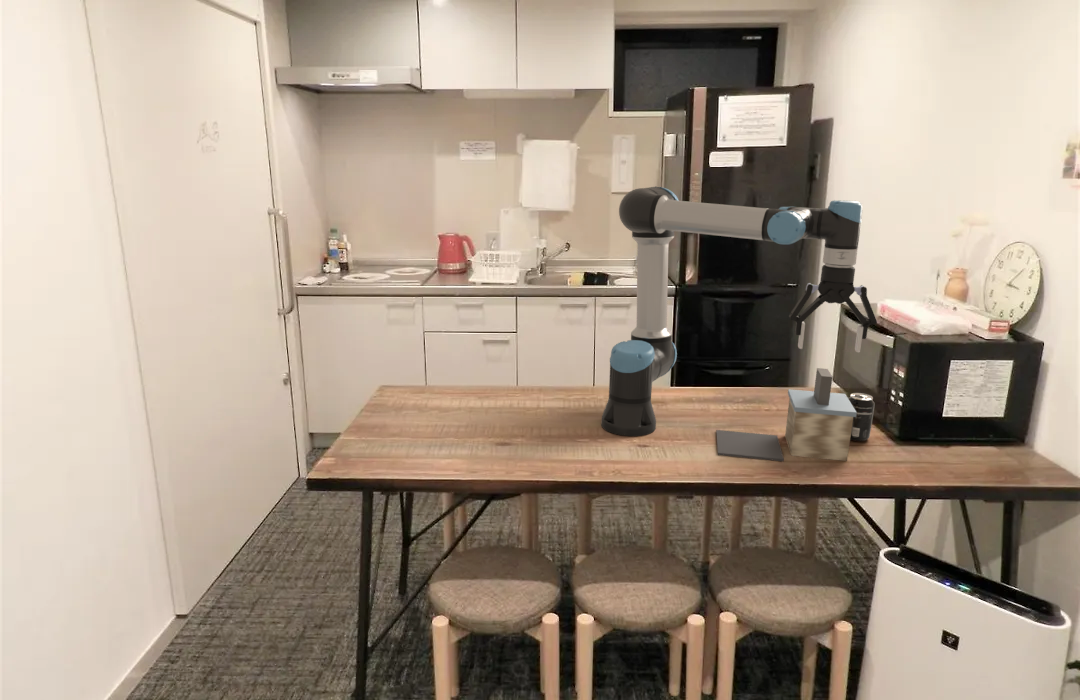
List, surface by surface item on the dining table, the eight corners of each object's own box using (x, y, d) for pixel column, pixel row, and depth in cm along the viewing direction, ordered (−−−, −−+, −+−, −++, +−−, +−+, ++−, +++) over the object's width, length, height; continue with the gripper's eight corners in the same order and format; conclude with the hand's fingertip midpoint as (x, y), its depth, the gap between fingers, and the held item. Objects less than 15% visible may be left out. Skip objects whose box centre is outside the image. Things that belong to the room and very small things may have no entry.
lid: (794, 416, 179) (798, 378, 176) (787, 397, 192) (791, 362, 189) (855, 421, 176) (860, 383, 173) (844, 402, 189) (849, 366, 187)
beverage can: (845, 431, 198) (851, 390, 195) (871, 437, 195) (877, 395, 191) (839, 438, 193) (845, 397, 190) (866, 445, 189) (872, 402, 186)
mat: (717, 454, 181) (718, 452, 181) (716, 431, 196) (716, 429, 196) (783, 461, 178) (783, 459, 178) (776, 437, 193) (777, 435, 193)
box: (791, 455, 182) (796, 411, 179) (785, 435, 194) (789, 394, 191) (846, 460, 179) (853, 416, 176) (837, 440, 192) (842, 398, 189)
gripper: (787, 265, 173) (778, 349, 178) (898, 269, 168) (885, 356, 174) (783, 261, 180) (775, 342, 186) (889, 265, 175) (878, 348, 181)
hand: (828, 349), depth 180 cm, fingers open, 13 cm apart
